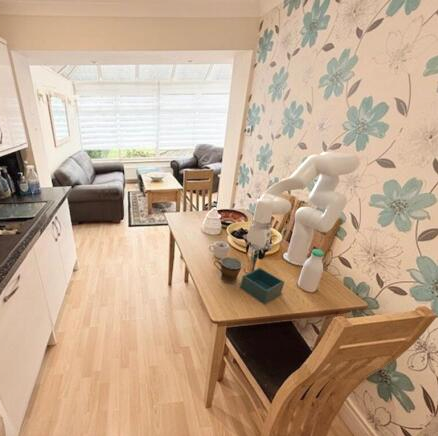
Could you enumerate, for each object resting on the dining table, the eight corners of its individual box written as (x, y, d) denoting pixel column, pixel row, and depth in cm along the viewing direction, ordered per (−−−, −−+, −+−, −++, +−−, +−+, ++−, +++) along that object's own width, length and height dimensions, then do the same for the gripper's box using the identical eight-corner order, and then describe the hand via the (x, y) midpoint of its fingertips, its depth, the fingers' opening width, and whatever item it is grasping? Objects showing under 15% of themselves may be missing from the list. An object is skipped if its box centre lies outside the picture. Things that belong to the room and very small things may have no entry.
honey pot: (222, 234, 164) (226, 210, 157) (204, 234, 164) (206, 210, 157) (218, 226, 176) (221, 203, 168) (200, 226, 176) (202, 203, 169)
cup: (207, 257, 138) (208, 245, 135) (209, 250, 145) (210, 239, 142) (226, 261, 134) (228, 249, 131) (227, 254, 141) (229, 242, 138)
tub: (257, 278, 120) (259, 267, 117) (281, 293, 110) (284, 281, 107) (240, 287, 114) (242, 275, 111) (264, 303, 104) (267, 291, 101)
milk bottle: (316, 294, 109) (329, 258, 101) (297, 288, 113) (308, 252, 105) (316, 285, 115) (328, 249, 107) (297, 280, 119) (308, 245, 111)
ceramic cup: (239, 275, 123) (242, 259, 119) (238, 287, 114) (242, 270, 110) (213, 270, 127) (215, 254, 123) (211, 281, 118) (213, 265, 114)
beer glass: (259, 276, 122) (265, 251, 116) (245, 274, 123) (250, 249, 117) (256, 268, 128) (261, 244, 122) (243, 266, 130) (247, 242, 123)
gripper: (282, 228, 109) (274, 261, 117) (250, 216, 123) (245, 245, 130) (272, 232, 106) (265, 265, 113) (240, 219, 120) (235, 249, 127)
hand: (254, 254), depth 122 cm, fingers closed on beer glass, 7 cm apart
